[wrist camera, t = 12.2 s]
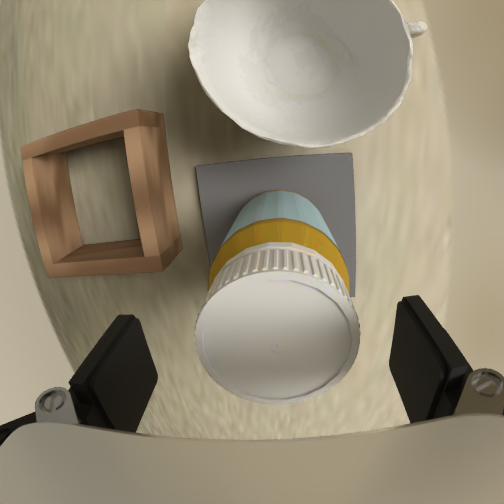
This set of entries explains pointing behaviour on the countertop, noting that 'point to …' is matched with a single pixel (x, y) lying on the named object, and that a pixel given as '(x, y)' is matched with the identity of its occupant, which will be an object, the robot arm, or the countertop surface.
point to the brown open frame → (143, 189)
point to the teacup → (304, 65)
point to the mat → (282, 178)
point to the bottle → (278, 305)
